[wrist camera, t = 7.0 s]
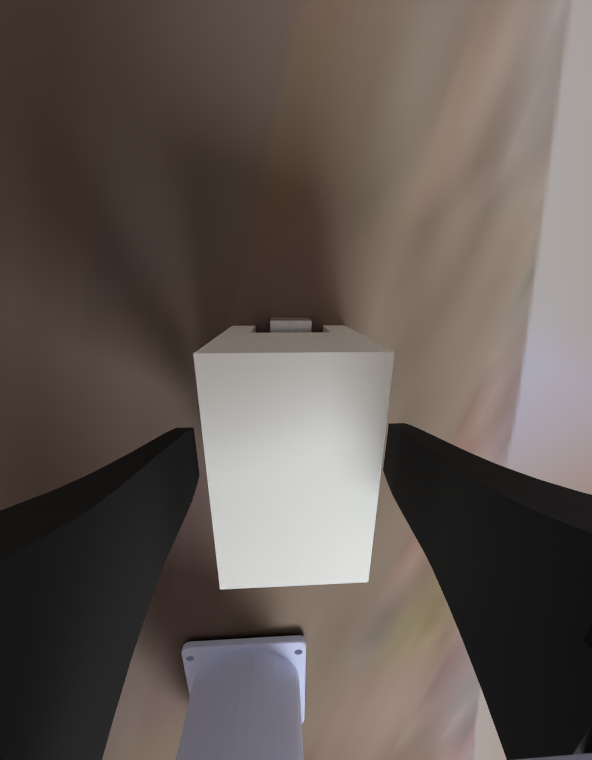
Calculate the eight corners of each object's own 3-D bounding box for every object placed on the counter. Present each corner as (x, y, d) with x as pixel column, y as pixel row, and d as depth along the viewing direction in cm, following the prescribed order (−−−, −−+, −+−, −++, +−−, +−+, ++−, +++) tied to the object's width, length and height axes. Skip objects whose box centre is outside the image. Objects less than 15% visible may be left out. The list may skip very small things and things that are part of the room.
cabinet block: (336, 475, 15) (368, 582, 9) (242, 478, 15) (219, 589, 9) (344, 325, 12) (394, 351, 7) (232, 325, 12) (193, 353, 7)
